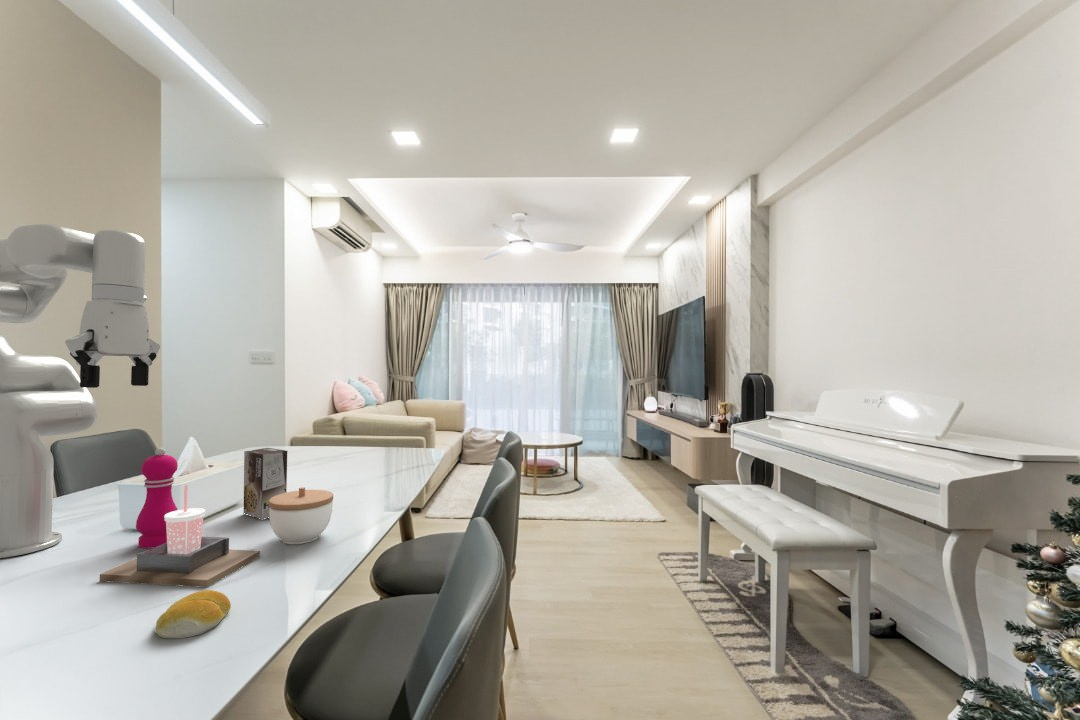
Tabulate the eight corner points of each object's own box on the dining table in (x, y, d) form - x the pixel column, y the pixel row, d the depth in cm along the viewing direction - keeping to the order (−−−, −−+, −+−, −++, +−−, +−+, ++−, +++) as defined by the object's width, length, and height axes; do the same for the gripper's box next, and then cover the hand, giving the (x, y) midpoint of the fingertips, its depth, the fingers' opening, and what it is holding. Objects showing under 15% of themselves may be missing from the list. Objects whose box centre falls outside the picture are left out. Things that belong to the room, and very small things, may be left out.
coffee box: (287, 514, 120) (288, 450, 121) (261, 520, 115) (262, 454, 115) (267, 508, 125) (269, 446, 125) (241, 514, 120) (243, 450, 120)
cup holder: (99, 581, 82) (100, 556, 82) (165, 552, 95) (166, 531, 95) (207, 587, 80) (207, 562, 80) (259, 556, 93) (260, 535, 93)
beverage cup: (202, 552, 92) (204, 480, 92) (205, 562, 87) (207, 486, 87) (162, 560, 88) (164, 484, 88) (163, 571, 83) (165, 491, 83)
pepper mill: (154, 550, 96) (157, 451, 96) (125, 547, 97) (128, 449, 97) (188, 538, 103) (190, 445, 103) (160, 535, 104) (163, 444, 104)
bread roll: (237, 605, 75) (238, 580, 75) (212, 637, 66) (213, 607, 66) (176, 611, 73) (177, 584, 73) (142, 644, 64) (143, 614, 64)
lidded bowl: (253, 546, 99) (254, 492, 99) (297, 526, 111) (298, 479, 111) (304, 552, 96) (306, 497, 96) (344, 531, 108) (345, 483, 108)
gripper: (142, 303, 100) (140, 384, 99) (50, 289, 83) (47, 388, 82) (175, 303, 99) (173, 385, 99) (89, 289, 82) (86, 388, 82)
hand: (115, 386), depth 91 cm, fingers open, 9 cm apart
